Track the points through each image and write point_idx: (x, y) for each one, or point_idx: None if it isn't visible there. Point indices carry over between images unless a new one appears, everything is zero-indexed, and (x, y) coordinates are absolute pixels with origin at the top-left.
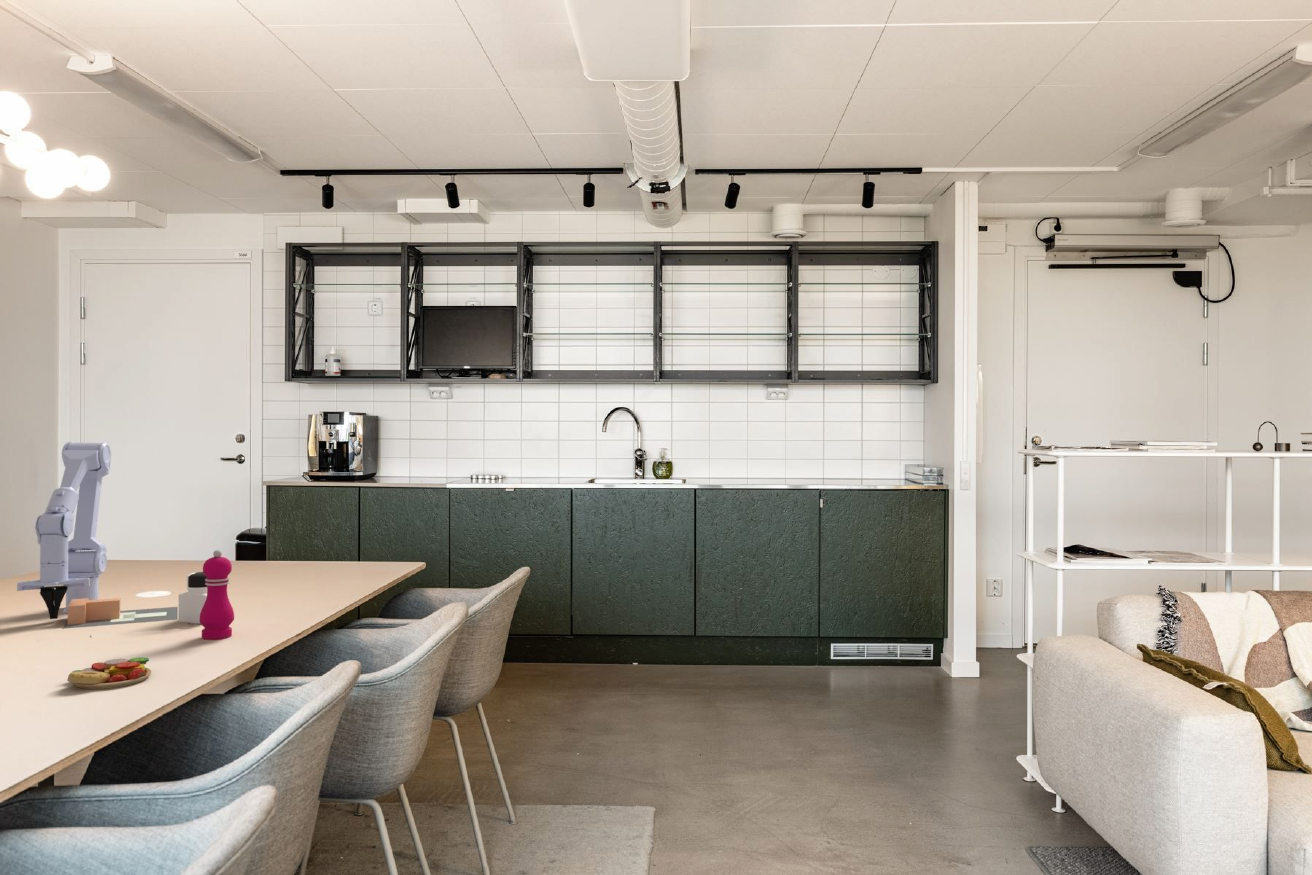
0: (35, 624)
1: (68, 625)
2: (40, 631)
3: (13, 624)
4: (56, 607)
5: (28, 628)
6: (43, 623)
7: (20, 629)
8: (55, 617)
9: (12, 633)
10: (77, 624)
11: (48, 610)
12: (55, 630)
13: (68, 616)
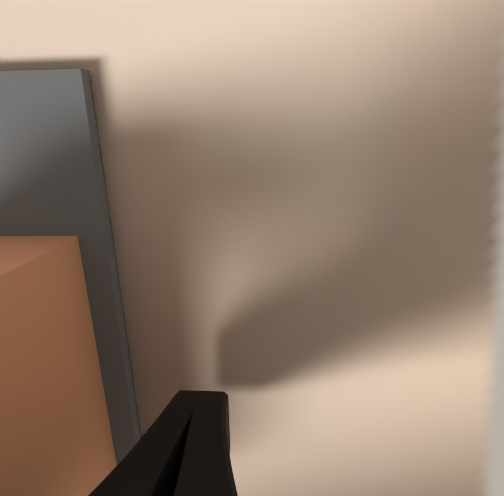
0: (333, 418)
1: (63, 204)
2: (266, 96)
3: (473, 477)
4: (136, 465)
5: (372, 287)
6: (284, 429)
7: (430, 271)
8: (182, 393)
9: (498, 103)
10: (2, 220)
11: (226, 448)
12: (145, 88)
13: (22, 262)
